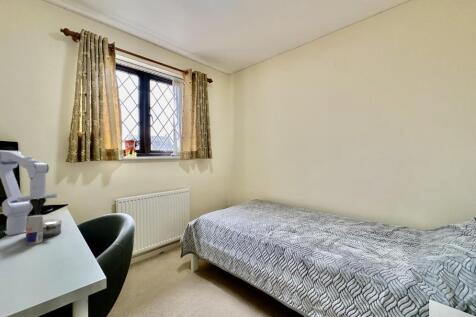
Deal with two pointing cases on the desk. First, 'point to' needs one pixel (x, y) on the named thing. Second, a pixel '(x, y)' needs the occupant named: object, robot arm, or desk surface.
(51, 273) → the desk surface
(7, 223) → the robot arm
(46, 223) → the small frying pan
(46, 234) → the grey metal cylinder
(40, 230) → the energy drink
